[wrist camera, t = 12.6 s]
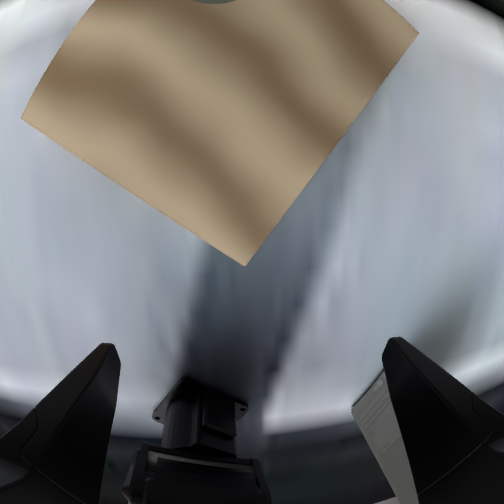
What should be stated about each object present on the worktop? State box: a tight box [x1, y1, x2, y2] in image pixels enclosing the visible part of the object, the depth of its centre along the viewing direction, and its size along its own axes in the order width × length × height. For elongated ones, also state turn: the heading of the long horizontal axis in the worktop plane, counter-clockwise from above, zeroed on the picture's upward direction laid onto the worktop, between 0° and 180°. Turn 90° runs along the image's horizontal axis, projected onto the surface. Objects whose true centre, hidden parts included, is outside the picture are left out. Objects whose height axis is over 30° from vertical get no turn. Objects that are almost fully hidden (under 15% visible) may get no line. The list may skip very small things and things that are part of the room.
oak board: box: [21, 0, 419, 266], centre depth 15 cm, size 20×18×2 cm
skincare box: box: [351, 371, 419, 504], centre depth 19 cm, size 8×7×16 cm
